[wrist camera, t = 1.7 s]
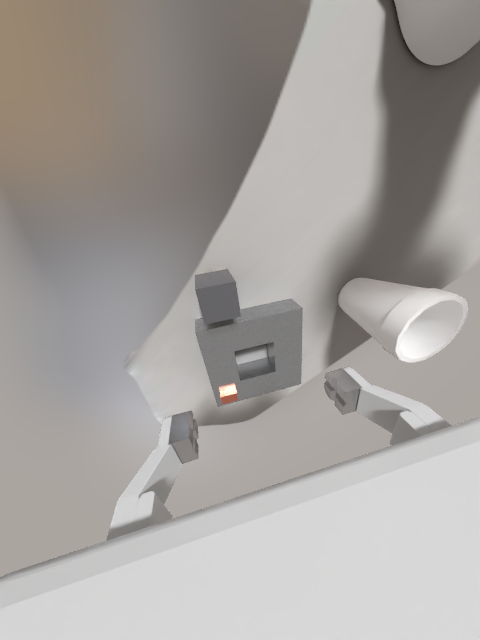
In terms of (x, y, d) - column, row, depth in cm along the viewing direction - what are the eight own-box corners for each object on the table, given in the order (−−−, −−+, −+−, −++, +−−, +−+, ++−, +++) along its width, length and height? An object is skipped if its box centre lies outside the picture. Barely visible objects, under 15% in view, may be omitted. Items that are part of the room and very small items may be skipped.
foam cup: (325, 321, 36) (385, 367, 25) (335, 271, 32) (413, 300, 20) (370, 314, 37) (445, 356, 26) (385, 266, 33) (483, 290, 22)
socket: (195, 319, 30) (195, 336, 26) (290, 298, 32) (305, 311, 28) (215, 389, 38) (218, 411, 34) (291, 369, 40) (303, 387, 36)
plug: (195, 272, 27) (195, 289, 21) (225, 266, 28) (235, 281, 21) (202, 301, 29) (204, 324, 23) (230, 295, 30) (240, 316, 23)
